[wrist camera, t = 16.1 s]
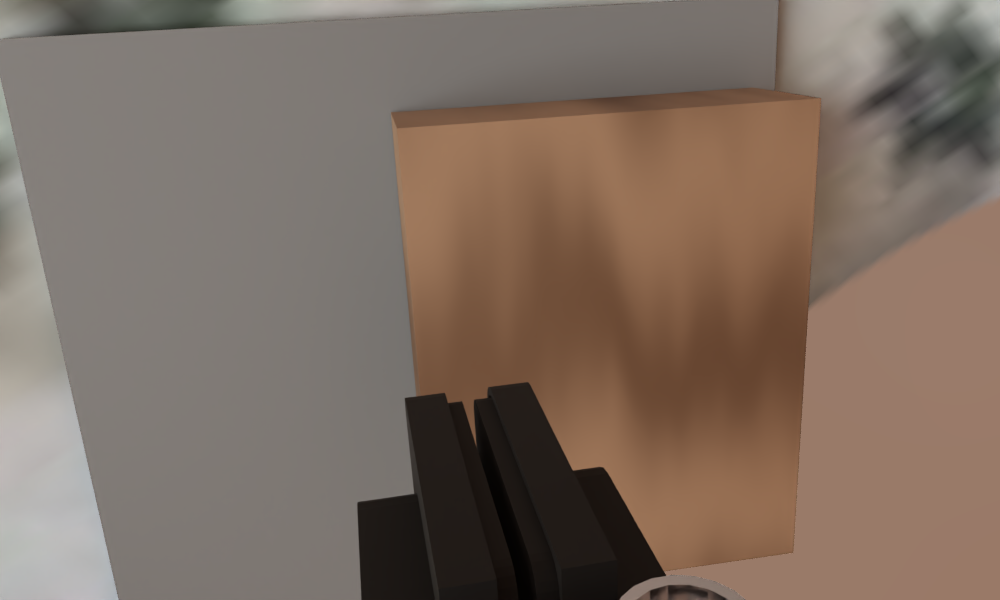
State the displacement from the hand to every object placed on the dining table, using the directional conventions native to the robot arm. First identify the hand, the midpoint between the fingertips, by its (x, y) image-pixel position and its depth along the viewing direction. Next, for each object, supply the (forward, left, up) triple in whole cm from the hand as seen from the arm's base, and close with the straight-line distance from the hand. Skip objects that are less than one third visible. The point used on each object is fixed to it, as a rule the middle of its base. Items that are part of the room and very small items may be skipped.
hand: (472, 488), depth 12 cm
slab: (+1, 0, -7) cm, 7 cm away
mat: (+1, 0, -9) cm, 9 cm away
